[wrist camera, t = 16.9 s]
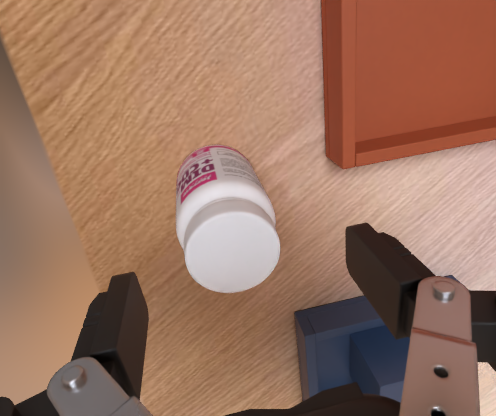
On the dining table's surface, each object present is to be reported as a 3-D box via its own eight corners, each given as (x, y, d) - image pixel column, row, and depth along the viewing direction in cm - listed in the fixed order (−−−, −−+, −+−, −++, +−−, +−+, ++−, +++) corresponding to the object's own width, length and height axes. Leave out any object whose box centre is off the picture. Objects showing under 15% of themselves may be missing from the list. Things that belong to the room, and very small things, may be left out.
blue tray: (302, 403, 33) (312, 431, 31) (294, 311, 28) (304, 336, 26) (435, 368, 34) (454, 392, 32) (451, 274, 29) (475, 295, 27)
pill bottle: (194, 129, 20) (205, 183, 13) (266, 161, 22) (311, 225, 14) (164, 199, 22) (157, 284, 14) (232, 224, 23) (259, 312, 16)
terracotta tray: (325, 156, 22) (342, 169, 20) (318, -69, 17) (340, -86, 15) (516, 119, 24) (553, 128, 22) (564, -100, 19) (619, -118, 16)
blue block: (349, 374, 32) (377, 429, 27) (349, 334, 29) (380, 387, 25) (401, 360, 32) (437, 412, 28) (405, 320, 30) (445, 369, 25)
